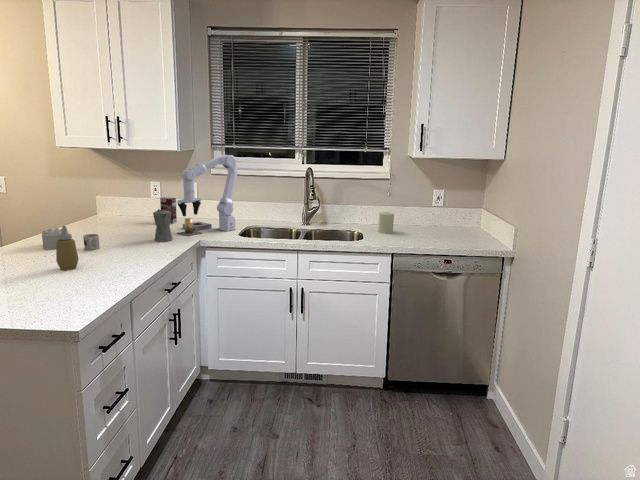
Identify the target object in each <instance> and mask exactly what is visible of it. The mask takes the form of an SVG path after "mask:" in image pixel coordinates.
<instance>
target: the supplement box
mask: <svg viewBox="0 0 640 480" xmlns="http://www.w3.org/2000/svg"><path fill="white" fill-rule="evenodd" d="M159 201H160V207H164V208H163V210H165V211H170V212H171V221H170V225H171V224H173V225H174V224H177V222H178V219H177V218H178V217H177V198H175V197H164V196H163V197H160V198H159Z"/></svg>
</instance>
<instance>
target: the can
mask: <svg viewBox="0 0 640 480" xmlns="http://www.w3.org/2000/svg"><path fill="white" fill-rule="evenodd" d="M394 220H395V213H394V212H390V211H389V212H388V211H382V212H378V227H377V228H378V230H377V232H378V233H379V234H387V235H388V234H393V233H394V222H395V221H394Z"/></svg>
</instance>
